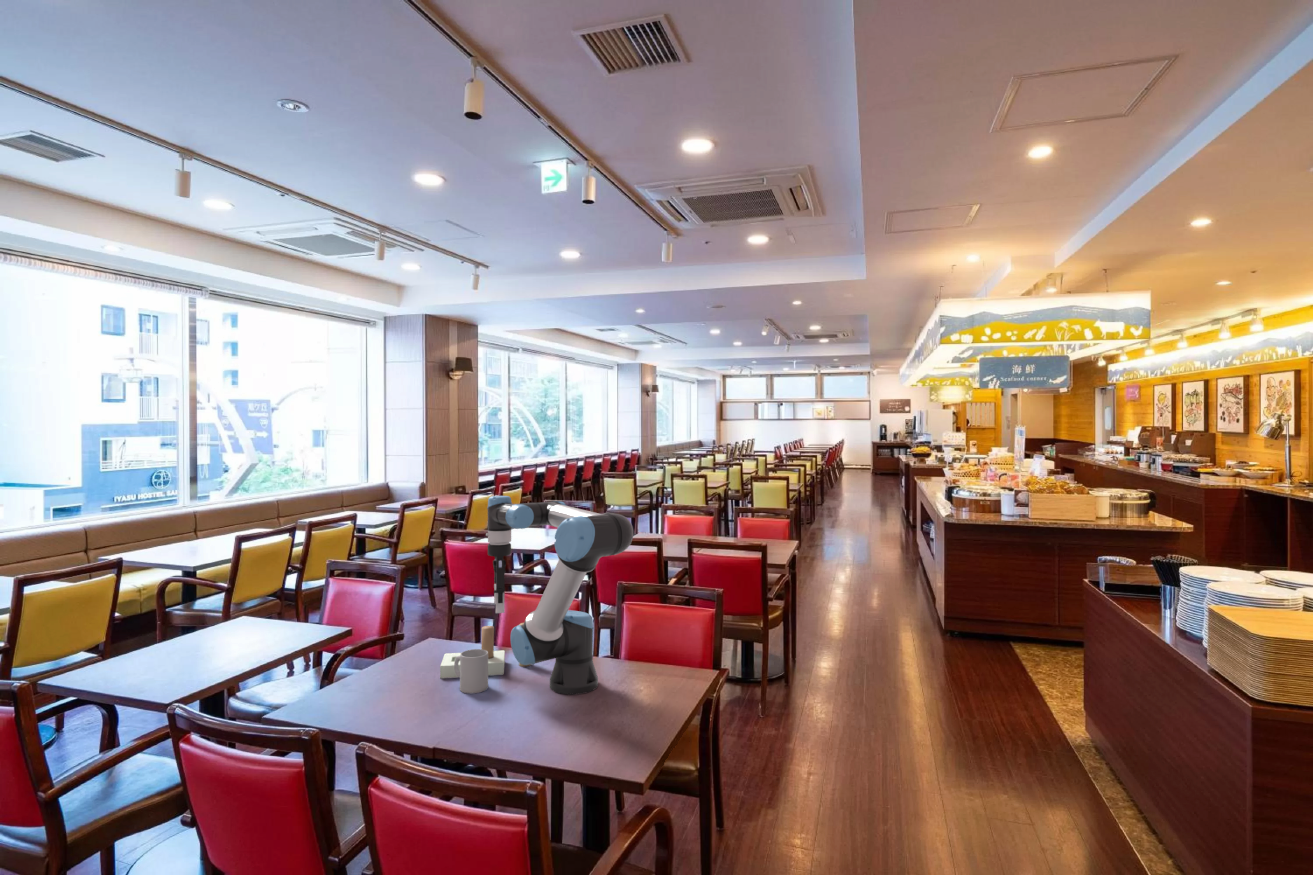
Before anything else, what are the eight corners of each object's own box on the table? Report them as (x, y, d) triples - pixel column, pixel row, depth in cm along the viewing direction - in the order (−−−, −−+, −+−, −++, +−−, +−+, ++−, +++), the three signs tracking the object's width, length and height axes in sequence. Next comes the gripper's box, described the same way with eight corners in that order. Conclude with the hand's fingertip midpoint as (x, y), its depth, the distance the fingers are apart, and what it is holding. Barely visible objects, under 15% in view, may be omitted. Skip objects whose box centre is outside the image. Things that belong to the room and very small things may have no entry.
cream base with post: (504, 661, 232) (504, 621, 232) (503, 674, 219) (503, 631, 219) (444, 665, 228) (445, 624, 228) (440, 678, 215) (440, 635, 215)
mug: (493, 686, 209) (494, 651, 209) (475, 695, 201) (475, 659, 201) (464, 680, 214) (464, 645, 214) (445, 688, 206) (445, 653, 206)
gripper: (486, 538, 230) (486, 600, 229) (488, 549, 205) (488, 617, 205) (509, 537, 232) (508, 598, 231) (513, 548, 208) (513, 616, 207)
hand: (499, 607), depth 218 cm, fingers open, 13 cm apart
